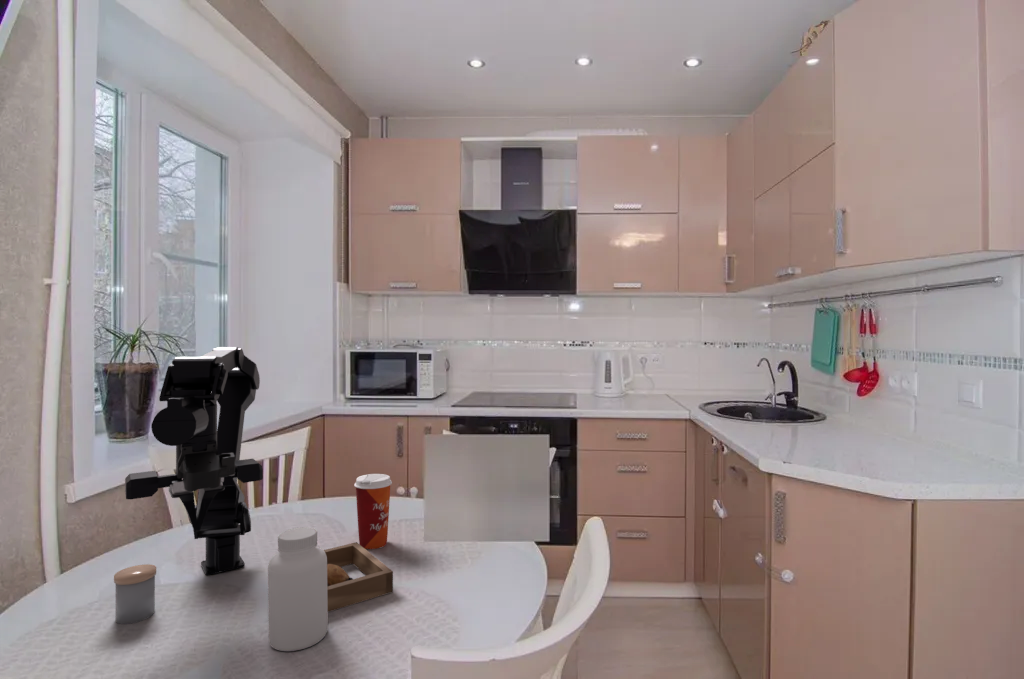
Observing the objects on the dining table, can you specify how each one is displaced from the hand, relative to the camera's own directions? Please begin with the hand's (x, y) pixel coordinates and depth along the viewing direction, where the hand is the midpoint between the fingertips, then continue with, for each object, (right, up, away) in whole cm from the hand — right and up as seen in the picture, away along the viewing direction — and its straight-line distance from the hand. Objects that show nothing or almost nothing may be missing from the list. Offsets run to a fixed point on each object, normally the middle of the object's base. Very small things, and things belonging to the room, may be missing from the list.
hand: (196, 530), depth 86 cm
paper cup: (+22, -12, +26) cm, 36 cm away
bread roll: (+19, -13, +7) cm, 24 cm away
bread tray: (+19, -12, +6) cm, 24 cm away
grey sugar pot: (-8, -12, -3) cm, 15 cm away
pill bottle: (+20, -12, -9) cm, 25 cm away
